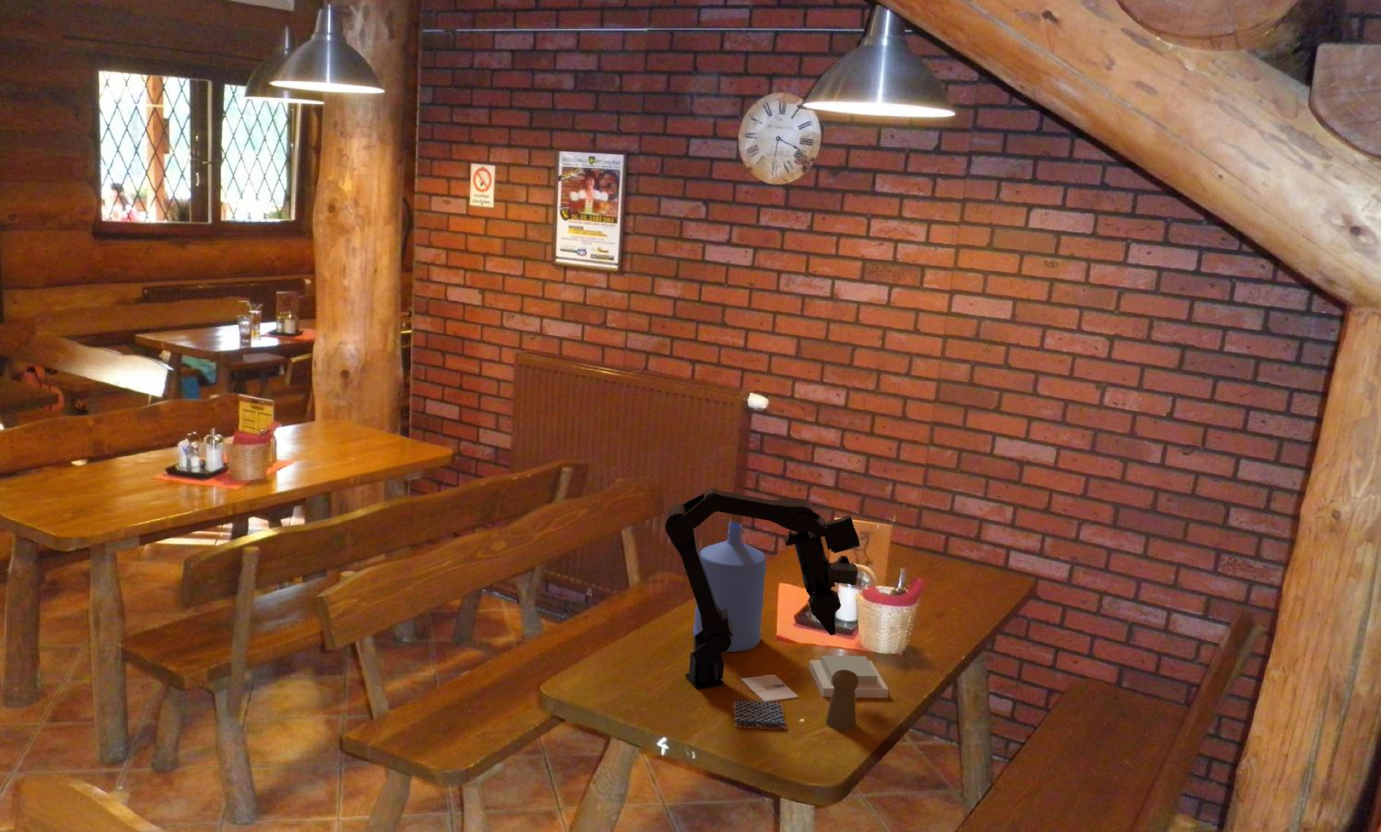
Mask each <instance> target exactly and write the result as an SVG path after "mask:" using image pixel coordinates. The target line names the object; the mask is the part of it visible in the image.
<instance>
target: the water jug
mask: <svg viewBox="0 0 1381 832" xmlns="http://www.w3.org/2000/svg"><path fill="white" fill-rule="evenodd" d="M742 528H743V525H742V523H739V522H730V523H728V530H727V539H726V540H725V541H721V542H718V543H714V544H711V545H708V546H705V547H703V548H702V549H701V550H700V551H699V554H700V557H701V560H702V563H703V566H704V569H705V572H706V575H707V578H708V581H709V584H710V587H711V590H712V593H713V596H714V599H715V602H716V604H717V606H718V607H719V608H720V610H723V609H725V608H727V613H728V618H729V620H730V621H731V622H732V627H733V636H731V646H730V647H729V649H728V650H727V651H726V652H725V653H738V652H740V653H741V652H745V651H749V650H751V649H753V648H755V647H756V646H758V644H760V642H761V641H760V640H761V636H762V635H761V634H762V632H761V627H762V626H761V625H762V617H763V616H762V615H763V610H764V591H765V590H764V589H765V580H766V579H765V578H766V575H767V557H766V555H765V554H764V552H762V551H761V550H759V549H757V548H755V547H752V546H750V545H749V544H746V543H744V542H742V535H743V533H742ZM695 606H696V607H695V612H694V615H695V617H694V625H693V631H692V632H693V633H692V634H693V637H694V636H695V635H696V634H698V633H699V632H700V631H701V630H702V623H701V615H700V611H699V608H698V605H697V603H696V605H695Z"/></svg>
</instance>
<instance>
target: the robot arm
mask: <svg viewBox="0 0 1381 832" xmlns="http://www.w3.org/2000/svg"><path fill="white" fill-rule="evenodd" d="M716 512H719V513H725V514H730V515H735V516H740V517H747V518H752V519H757V520H762V521H768V522H770V523H771V522H772V523H774V524H777V525H778V526H780V527H782V528H783V529H787V530H788V531H787V534H786V535H785V537H784V538H783V541H784V544H785V546H786V547H789V546H793V545H794V549H795V553H796V555H797V560H798V562H799V567H800V570H801V575H802V576H801V579H802V581H803V585H804V589H805V591H806V593H807V594H808V595H809V598H808V599H807V601H808V604H809V608H810V612H811V613H810V614H811V615H812V616H813V617H814V618H815V619H816V620H817V621H818V622H819V624H821V626H822V627H823V628H824V629H825V630H826V632H827V633H828V634H829V636H835V635H836V612H838V611H839V610H840V608H841V607H842V604H841V601H840V596H839V594H838V592H837V591H835V590H834V589H832V588H834V587H836V584H843V585H844V584H845V585H850V586H856V585H857V583H858V582H857V581H858V572H859V569H858V566H857V565H856V564H855V563H854V562H851V563H850V560H849V558H848V556H847V555H839V557H838V558H837V560H836V561H834V562H830V561H829V558H828V556H827V555H826V552H825V548H824V545H823V540H822V537H823V539H824V542H825V545H826V549H827V551H829V550H830V552H831V553H833V554H838V553H841V552H845V551H848V550H853V549H857V548H860V547H861V545H860V544H861V543H860V540H859V536H858V532H857V531H856V528H855V525H854V522H853V519H852V515H849V514H848V515H846V516H843V517H841V518H837V519H834V520H830V521H826V519H825V518H823V517H822V515H820V514H819V513H817V512H816V511H815V510H814V508H813V506H812V504H811V503H810V501H808V500H807V499H804V498H787V497H786V498H781V499H768V498H763V497H762V498H761V497H757V496H753V495H746V494H741V493H735V492H729V491H723V490H719V489H717V488H714V487H713V488H712V487H711V488H708V489H707V490H706V491H704V492H703V493H701V494H700V495H697V496H695V497H693V498H691V499H688V500H687V501H686V502H684V503H683V504H677V505H676V504H675V505H673V506H671V507H670V508H669V509H668V510H667V512H666V514H665V522H664V523H665V524H664V528H665V530H664V531H665V533H666V534H667V536H668V538H669V540H670V541H671V543H672V545H673V546H674V548H675V549H676V551H677V552H678V554H679V555H680V558H681V561H682V564H683V566H684V569H685V573H686V575H687V579H688V581H689V585H690V588H691V591H692V593H693V596H694V599H695V602H696V604H697V605H698V608H699V611H700V615H701V623H702V630H701V631H700V632H699V633H698V634H696V635H695V636H694V635H693V638H692V639H693V651H691V652H690V655H689V669H688V672H687V673H685V678H686V679H687V680H688V681H689V682H690V683H691V684H692V685H693V687H694V688H695V689H704V688H714V687H719V686H724V685H725V682H724V681H723V679H724V669H725V661H724V660H723V658H724V655H723V654H724V653H727V652H726V651H727V650H728V649H729V647H730V646H731V636H733V627H732V622H731V621H730V620H729V618H728V613H727V608H725V609H723V610H720V608H719V607H718V606H717V604H716V602H715V599H714V596H713V593H712V590H711V587H710V584H709V581H708V578H707V575H706V572H705V569H704V566H703V563H702V560H701V557H700V551H699V548H698V545H697V539H696V538H697V537H696V528H697V527H699V526H700V525H701V524H702V523H703V522H705V521H706V520H707V519H708V518H709V517H711V516H712V515H713V514H714V513H716Z"/></svg>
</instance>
